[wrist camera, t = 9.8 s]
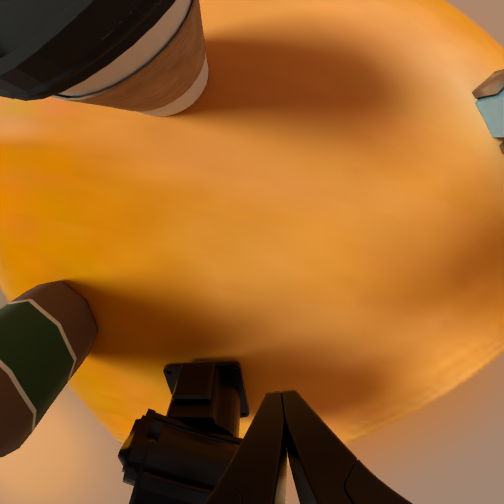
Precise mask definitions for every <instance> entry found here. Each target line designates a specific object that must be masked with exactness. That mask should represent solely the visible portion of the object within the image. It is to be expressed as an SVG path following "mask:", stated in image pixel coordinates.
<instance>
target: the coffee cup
mask: <svg viewBox="0 0 504 504" xmlns="http://www.w3.org/2000/svg"><path fill="white" fill-rule="evenodd" d="M208 72H209V68H208V63H207V58H206V53H205V42H204V35H203V27H202V19H201V12H200V4H199V0H0V96H2V97H7V98H12V99H20V100H24V101H27V100H37V99H44V98H47V97H49V96H51V97H53V98H57V99H61V100H66V101H74V102H81V103H88V104H95V105H101V106H107V107H113V108H118V109H124V110H129V111H136V112H140V113H144V114H147V115H151V116H160V117H161V116H169V115H173V114H176V113H179V112H181V111H183V110H185V109H186V108H188V107H189V106H191V105H192V104H193V103H194V102H195V101H196V100H197V99H198V98H199V97H200V95H201V94H202V92H203V91H204V88H205V86H206V84H207V80H208Z"/></svg>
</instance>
